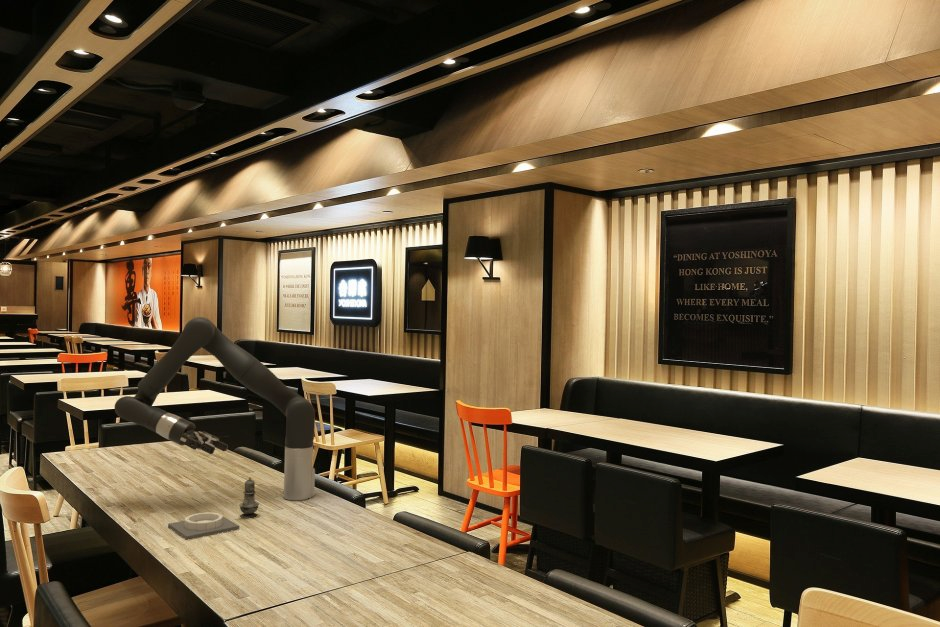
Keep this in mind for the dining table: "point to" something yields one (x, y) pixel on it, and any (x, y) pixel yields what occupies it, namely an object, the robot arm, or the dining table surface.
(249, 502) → the salt shaker
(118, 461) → the dining table surface
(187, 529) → the tray
